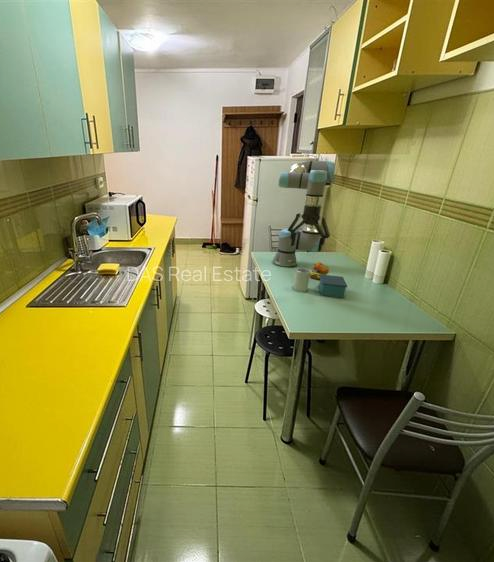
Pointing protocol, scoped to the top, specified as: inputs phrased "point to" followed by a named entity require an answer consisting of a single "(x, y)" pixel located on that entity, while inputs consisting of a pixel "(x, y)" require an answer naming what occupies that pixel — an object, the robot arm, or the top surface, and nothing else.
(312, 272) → the cheeseburger
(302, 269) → the cup
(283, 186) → the robot arm
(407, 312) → the top surface
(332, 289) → the container
